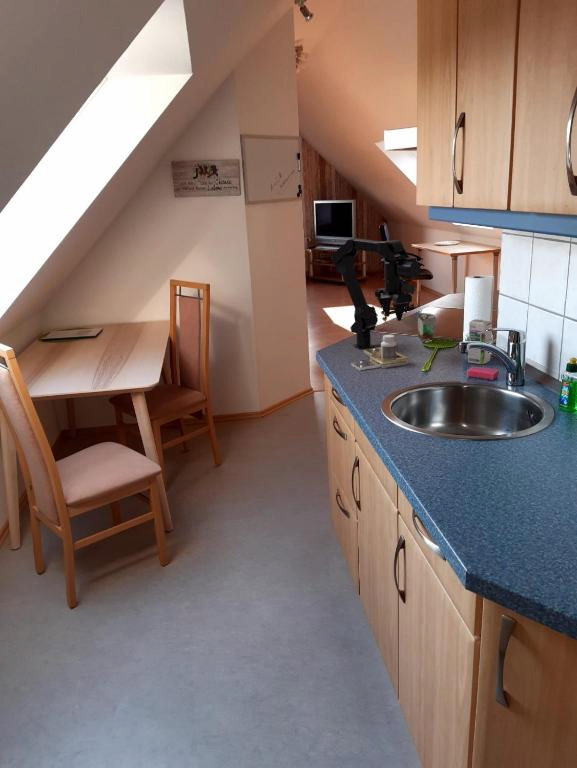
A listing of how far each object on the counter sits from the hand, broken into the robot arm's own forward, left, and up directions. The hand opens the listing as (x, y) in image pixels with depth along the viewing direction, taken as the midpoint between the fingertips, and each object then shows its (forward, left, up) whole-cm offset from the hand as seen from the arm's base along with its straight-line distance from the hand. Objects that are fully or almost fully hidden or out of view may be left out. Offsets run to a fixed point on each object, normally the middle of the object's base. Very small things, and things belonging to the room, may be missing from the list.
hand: (393, 318), depth 225 cm
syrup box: (+26, +19, -13) cm, 35 cm away
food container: (-9, +20, -13) cm, 26 cm away
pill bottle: (+11, -8, -13) cm, 19 cm away
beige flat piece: (+7, -12, -13) cm, 19 cm away
